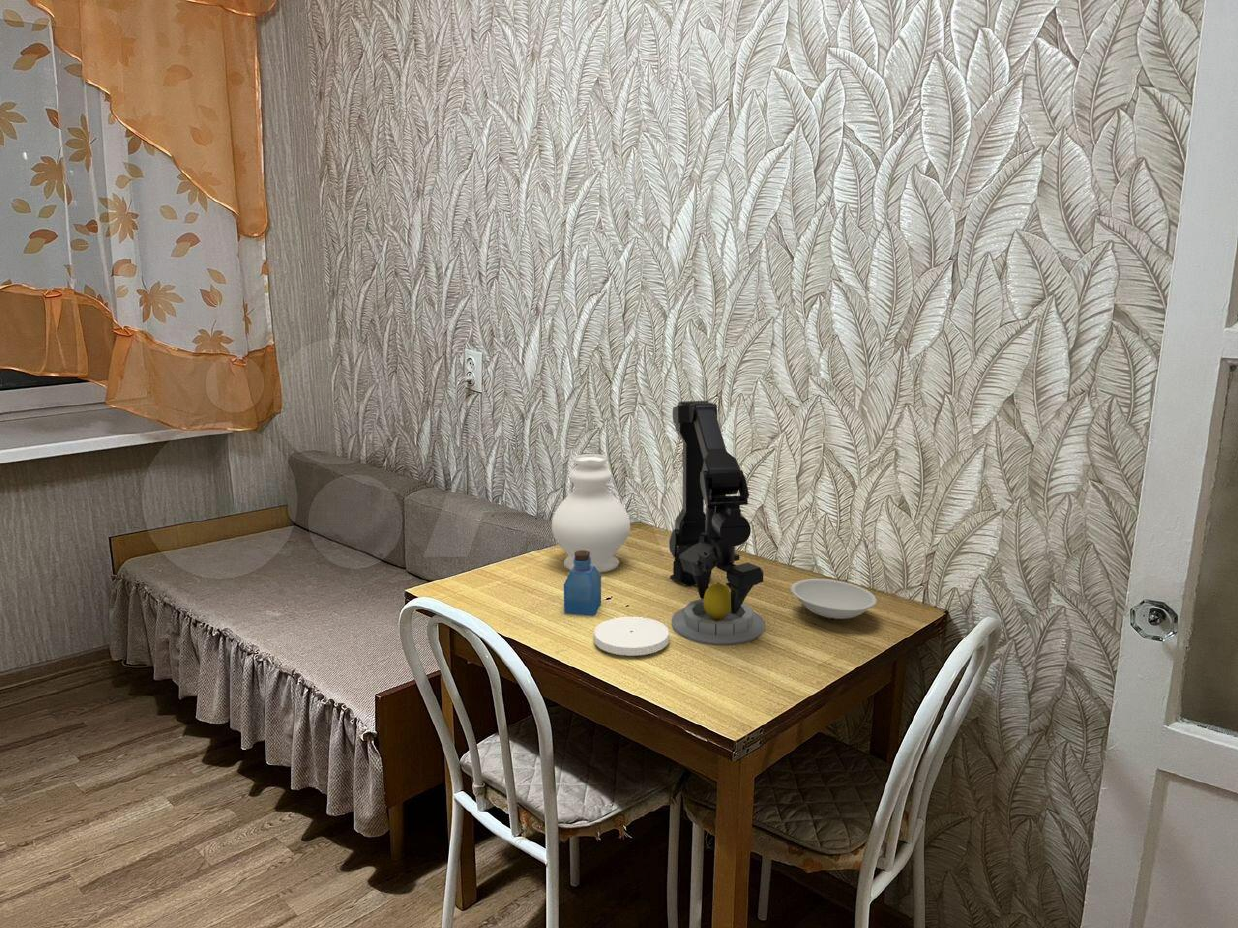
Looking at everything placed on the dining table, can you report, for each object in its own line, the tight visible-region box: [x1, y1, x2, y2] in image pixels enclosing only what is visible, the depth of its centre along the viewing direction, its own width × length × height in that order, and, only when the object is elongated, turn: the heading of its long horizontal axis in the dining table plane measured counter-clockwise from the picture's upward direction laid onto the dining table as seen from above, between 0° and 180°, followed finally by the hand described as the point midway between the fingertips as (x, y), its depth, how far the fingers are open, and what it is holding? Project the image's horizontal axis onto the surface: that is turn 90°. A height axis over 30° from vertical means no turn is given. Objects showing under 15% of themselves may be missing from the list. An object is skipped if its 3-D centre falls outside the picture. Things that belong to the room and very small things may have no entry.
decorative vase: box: [551, 453, 631, 574], centre depth 215 cm, size 18×18×25 cm
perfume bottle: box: [563, 550, 602, 617], centre depth 191 cm, size 6×6×12 cm
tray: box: [671, 598, 766, 646], centre depth 184 cm, size 18×18×3 cm
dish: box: [790, 578, 878, 620], centre depth 187 cm, size 18×14×5 cm
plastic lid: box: [593, 616, 670, 657], centre depth 176 cm, size 14×14×2 cm
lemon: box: [703, 581, 731, 621], centre depth 183 cm, size 6×6×8 cm
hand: (718, 605), depth 183 cm, fingers open, 9 cm apart
